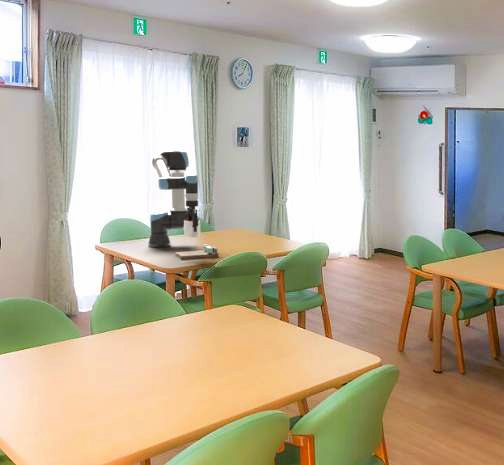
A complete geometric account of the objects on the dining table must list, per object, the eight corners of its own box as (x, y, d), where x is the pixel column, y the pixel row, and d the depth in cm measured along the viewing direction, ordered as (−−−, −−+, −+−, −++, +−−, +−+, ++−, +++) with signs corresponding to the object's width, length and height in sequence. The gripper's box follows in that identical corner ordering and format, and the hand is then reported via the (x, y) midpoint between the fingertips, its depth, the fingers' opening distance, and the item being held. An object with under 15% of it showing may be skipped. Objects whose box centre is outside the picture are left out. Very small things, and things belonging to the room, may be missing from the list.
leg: (203, 249, 399) (203, 244, 398) (208, 249, 400) (208, 244, 399) (208, 253, 387) (207, 247, 387) (212, 252, 388) (212, 247, 388)
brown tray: (175, 255, 393) (174, 247, 393) (211, 252, 402) (211, 244, 401) (181, 259, 380) (181, 251, 379) (218, 256, 389) (218, 248, 388)
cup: (197, 237, 381) (197, 221, 379) (182, 237, 383) (181, 221, 381) (202, 235, 391) (202, 219, 389) (187, 234, 393) (186, 218, 391)
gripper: (181, 198, 392) (181, 233, 396) (191, 202, 372) (191, 238, 375) (192, 198, 395) (193, 232, 398) (203, 201, 374) (203, 238, 378)
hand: (192, 235), depth 387 cm, fingers closed on cup, 10 cm apart
